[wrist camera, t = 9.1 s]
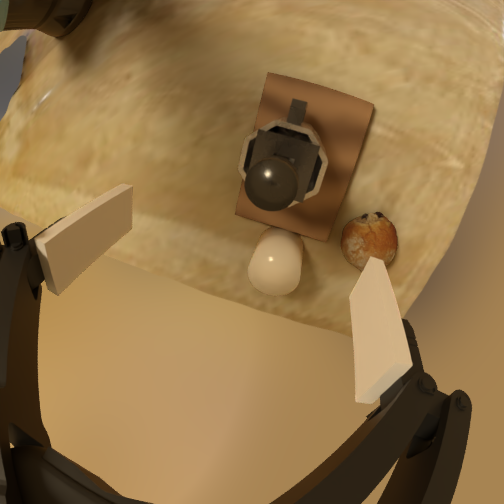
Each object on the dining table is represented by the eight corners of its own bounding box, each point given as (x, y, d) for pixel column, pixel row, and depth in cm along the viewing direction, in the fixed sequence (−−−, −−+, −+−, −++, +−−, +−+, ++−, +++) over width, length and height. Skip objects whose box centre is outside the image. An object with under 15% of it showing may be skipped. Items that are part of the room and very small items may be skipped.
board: (269, 73, 34) (267, 72, 33) (372, 104, 33) (374, 104, 32) (236, 211, 47) (234, 214, 46) (325, 239, 46) (326, 242, 45)
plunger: (270, 122, 35) (237, 134, 20) (320, 136, 35) (326, 158, 20) (258, 168, 39) (221, 213, 24) (306, 182, 38) (300, 236, 24)
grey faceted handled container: (270, 93, 35) (253, 88, 25) (335, 112, 34) (345, 113, 24) (251, 171, 41) (230, 194, 32) (312, 188, 41) (311, 218, 31)
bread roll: (333, 230, 49) (325, 265, 44) (363, 196, 40) (358, 233, 36) (376, 253, 49) (372, 288, 45) (409, 224, 40) (409, 262, 36)
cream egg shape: (264, 219, 47) (253, 245, 39) (309, 233, 46) (307, 261, 39) (252, 263, 52) (241, 292, 44) (293, 275, 51) (288, 307, 44)
